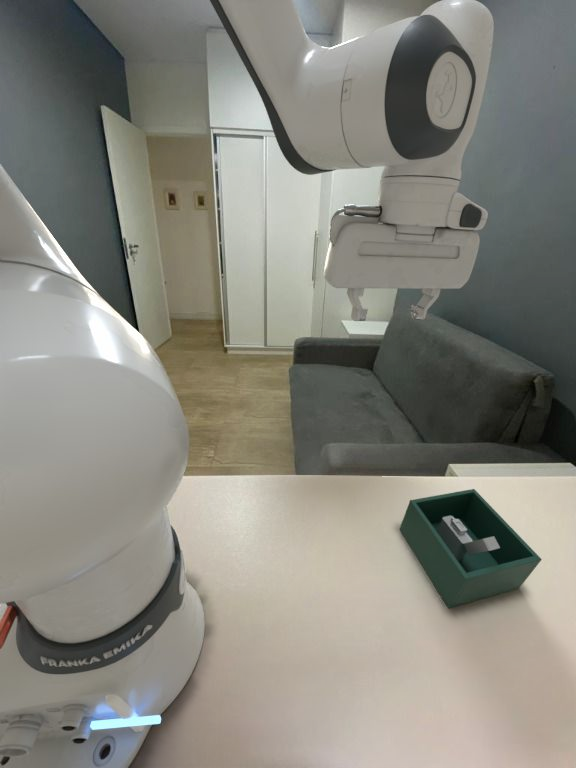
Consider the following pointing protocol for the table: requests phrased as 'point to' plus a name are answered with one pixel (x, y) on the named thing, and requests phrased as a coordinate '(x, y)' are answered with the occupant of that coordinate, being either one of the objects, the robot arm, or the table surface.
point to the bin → (476, 570)
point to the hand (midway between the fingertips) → (388, 319)
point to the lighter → (462, 539)
